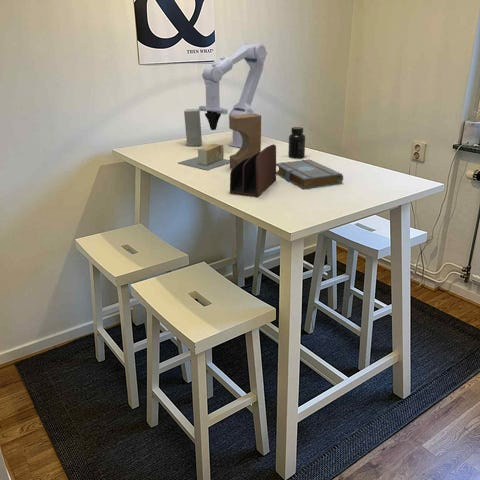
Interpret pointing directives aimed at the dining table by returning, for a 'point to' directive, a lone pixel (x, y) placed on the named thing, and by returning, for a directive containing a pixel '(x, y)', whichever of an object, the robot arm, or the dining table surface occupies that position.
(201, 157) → the skincare box
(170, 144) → the dining table surface
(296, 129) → the supplement bottle
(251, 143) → the decorative block
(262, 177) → the letter holder
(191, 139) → the skincare box
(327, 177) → the book
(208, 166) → the mat
